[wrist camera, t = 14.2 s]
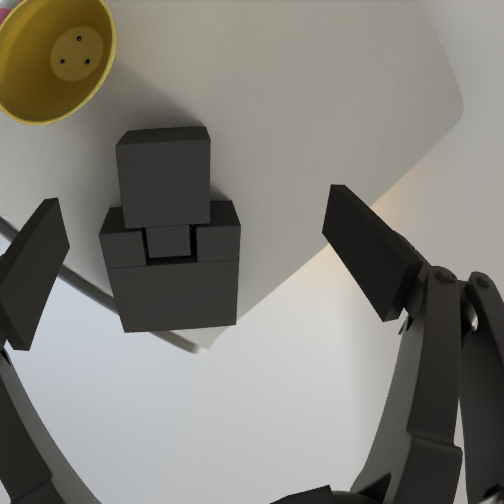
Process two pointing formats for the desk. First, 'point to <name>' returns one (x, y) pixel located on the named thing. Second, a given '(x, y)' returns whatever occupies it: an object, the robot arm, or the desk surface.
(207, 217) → the tab pad
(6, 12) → the pencil case
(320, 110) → the desk surface
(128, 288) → the notch pad
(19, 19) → the flower pot
